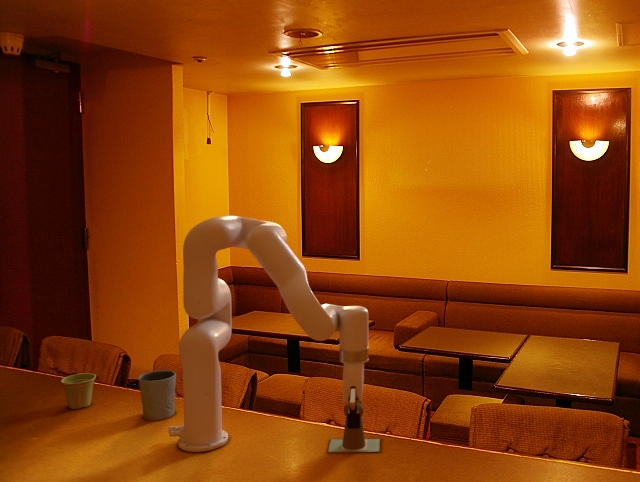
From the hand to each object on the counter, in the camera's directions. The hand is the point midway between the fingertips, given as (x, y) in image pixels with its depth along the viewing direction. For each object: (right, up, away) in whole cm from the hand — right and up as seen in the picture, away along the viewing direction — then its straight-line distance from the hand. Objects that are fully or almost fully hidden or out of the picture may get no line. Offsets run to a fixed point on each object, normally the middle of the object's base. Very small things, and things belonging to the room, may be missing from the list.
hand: (354, 421), depth 157 cm
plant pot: (-87, -5, +29) cm, 91 cm away
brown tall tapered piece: (0, -6, 0) cm, 6 cm away
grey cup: (-59, -6, +21) cm, 63 cm away
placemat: (0, -7, 0) cm, 6 cm away
